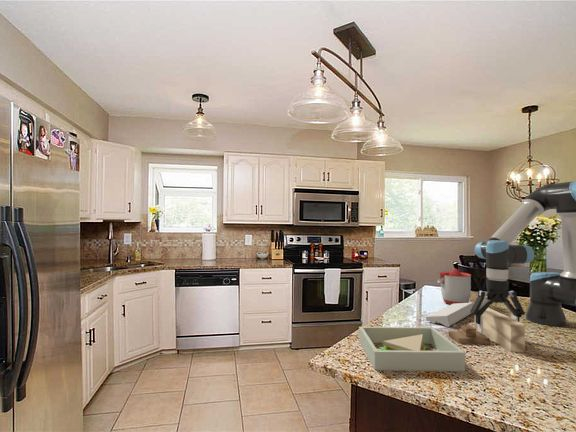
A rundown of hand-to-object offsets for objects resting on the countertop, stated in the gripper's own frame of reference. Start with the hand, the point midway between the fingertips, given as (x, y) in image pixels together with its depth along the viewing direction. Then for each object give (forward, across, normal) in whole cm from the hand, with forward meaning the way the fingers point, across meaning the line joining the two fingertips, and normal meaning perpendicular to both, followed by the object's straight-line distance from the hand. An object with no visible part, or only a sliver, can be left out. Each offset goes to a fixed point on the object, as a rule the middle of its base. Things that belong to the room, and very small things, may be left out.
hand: (497, 332), depth 128 cm
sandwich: (+3, +39, +15) cm, 42 cm away
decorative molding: (+3, +7, -32) cm, 33 cm away
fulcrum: (+3, +12, +1) cm, 12 cm away
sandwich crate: (+3, +42, +16) cm, 45 cm away
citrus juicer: (+3, -10, -54) cm, 55 cm away
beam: (+3, 0, 0) cm, 3 cm away
